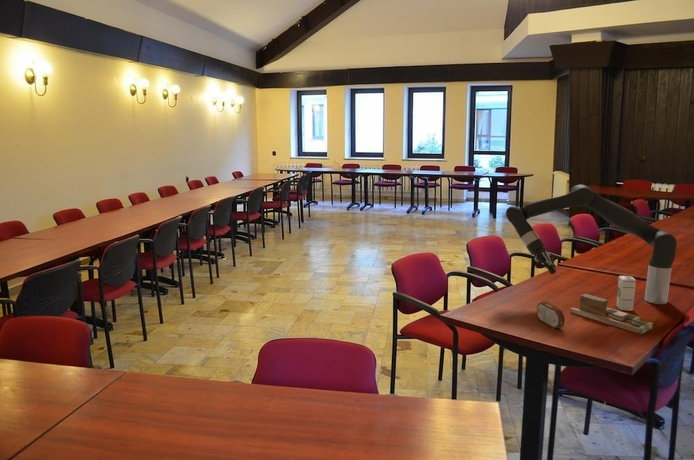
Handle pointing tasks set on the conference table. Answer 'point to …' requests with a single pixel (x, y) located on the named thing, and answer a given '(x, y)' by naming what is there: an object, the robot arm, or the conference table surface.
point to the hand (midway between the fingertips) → (554, 273)
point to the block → (593, 305)
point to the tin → (550, 315)
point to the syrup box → (625, 293)
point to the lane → (619, 316)
